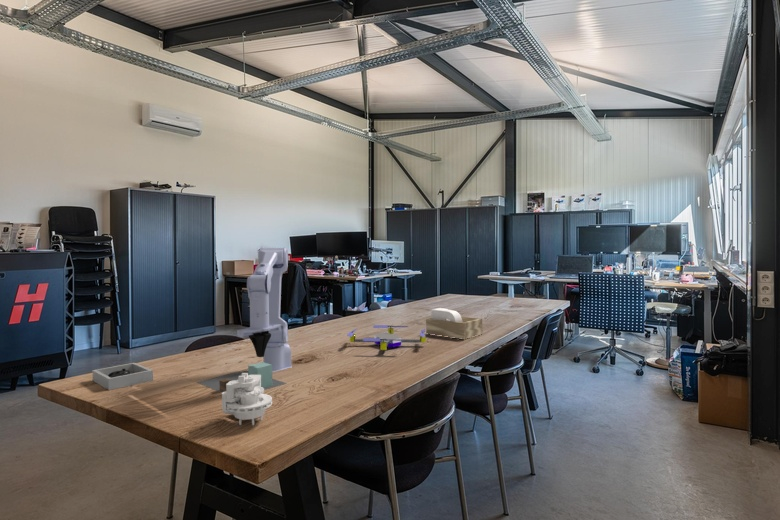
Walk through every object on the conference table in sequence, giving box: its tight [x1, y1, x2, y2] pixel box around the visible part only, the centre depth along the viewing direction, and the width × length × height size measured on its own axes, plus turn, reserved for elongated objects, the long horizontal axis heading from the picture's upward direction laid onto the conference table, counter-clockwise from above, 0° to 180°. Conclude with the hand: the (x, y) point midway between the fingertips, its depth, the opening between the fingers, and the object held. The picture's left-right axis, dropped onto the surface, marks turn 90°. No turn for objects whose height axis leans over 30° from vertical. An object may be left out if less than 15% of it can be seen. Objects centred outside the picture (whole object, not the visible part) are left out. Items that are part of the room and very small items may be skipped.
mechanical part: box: [221, 373, 273, 426], centre depth 113 cm, size 11×12×12 cm
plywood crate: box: [425, 315, 483, 339], centre depth 222 cm, size 17×22×8 cm
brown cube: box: [219, 379, 232, 392], centre depth 136 cm, size 3×3×3 cm
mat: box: [196, 369, 288, 394], centre depth 143 cm, size 18×24×1 cm
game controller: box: [108, 369, 130, 378], centre depth 150 cm, size 10×5×6 cm
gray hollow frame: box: [92, 362, 154, 391], centre depth 149 cm, size 13×16×4 cm
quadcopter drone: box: [347, 324, 427, 351], centre depth 198 cm, size 34×33×5 cm
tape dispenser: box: [430, 307, 462, 323], centre depth 222 cm, size 16×10×13 cm, turn 41°
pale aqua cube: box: [247, 361, 273, 388], centre depth 140 cm, size 5×5×7 cm
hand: (260, 356), depth 139 cm, fingers closed
